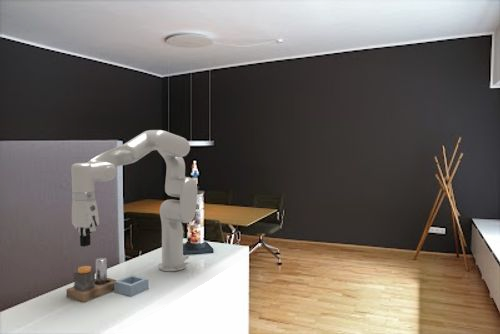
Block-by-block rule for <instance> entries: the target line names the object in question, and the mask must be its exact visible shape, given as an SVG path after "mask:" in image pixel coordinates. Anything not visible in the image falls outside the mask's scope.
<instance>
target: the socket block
mask: <svg viewBox="0 0 500 334" xmlns="http://www.w3.org/2000/svg"><path fill="white" fill-rule="evenodd" d="M73 274H74V275H73V277H74V278H73V279H74V281H73V282H74V284H73V285H74V286H71V287H69V288H66V290H65V291H66V298H69V299H72V300H75V301H78V302H81V303H87V302H89V301H92V300H95V299H97V298H99V297H101V296H104V295H107V294H110V293H112V292H114V281H117V280H118V279H113V278H110V277H107V283H106V284H103V285H97V284H96V271H94V270H91V272H89V273H86V274H80V273H78V271H76V272H74V273H73Z"/></svg>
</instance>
